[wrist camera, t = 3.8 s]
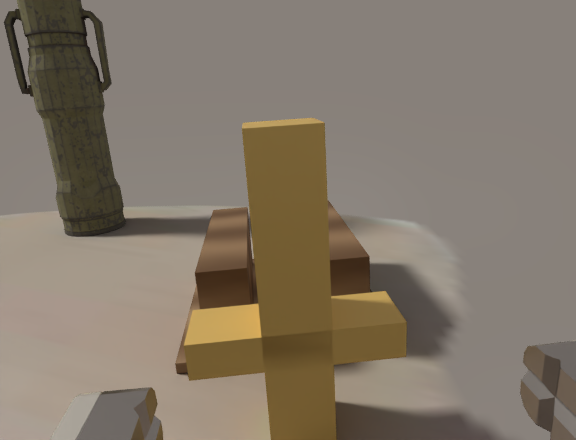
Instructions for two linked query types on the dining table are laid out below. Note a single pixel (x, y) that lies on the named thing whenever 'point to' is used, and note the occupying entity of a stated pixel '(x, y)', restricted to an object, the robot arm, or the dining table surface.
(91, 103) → the thermos
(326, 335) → the yellow tall bar
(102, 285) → the dining table surface
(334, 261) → the rack
